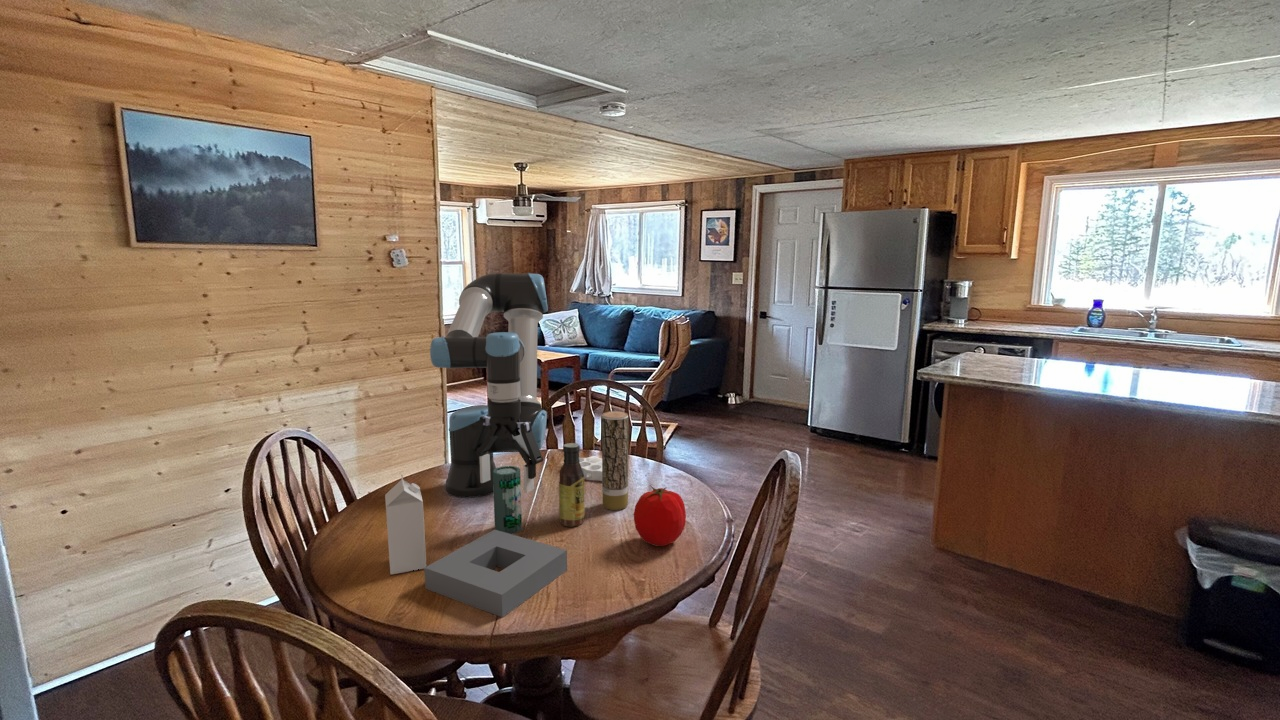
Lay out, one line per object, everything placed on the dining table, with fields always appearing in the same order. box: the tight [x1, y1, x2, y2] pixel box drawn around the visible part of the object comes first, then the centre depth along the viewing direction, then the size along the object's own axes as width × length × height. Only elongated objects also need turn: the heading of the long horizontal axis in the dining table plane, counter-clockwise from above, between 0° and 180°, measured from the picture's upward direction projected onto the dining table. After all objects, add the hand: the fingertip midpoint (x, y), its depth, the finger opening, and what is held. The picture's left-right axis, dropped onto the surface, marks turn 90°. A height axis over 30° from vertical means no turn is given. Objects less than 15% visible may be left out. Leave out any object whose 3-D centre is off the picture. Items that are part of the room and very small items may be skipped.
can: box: [493, 465, 523, 535], centre depth 147 cm, size 6×6×15 cm
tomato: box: [633, 485, 687, 547], centre depth 141 cm, size 12×12×13 cm
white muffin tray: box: [579, 455, 602, 482], centre depth 188 cm, size 3×18×15 cm
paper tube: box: [601, 410, 629, 511], centre depth 161 cm, size 7×7×25 cm
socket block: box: [423, 529, 568, 618], centre depth 125 cm, size 20×20×4 cm
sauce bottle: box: [558, 442, 585, 527], centre depth 151 cm, size 6×6×20 cm
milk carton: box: [384, 474, 427, 575], centre depth 130 cm, size 7×7×19 cm
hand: (506, 486), depth 146 cm, fingers open, 13 cm apart
